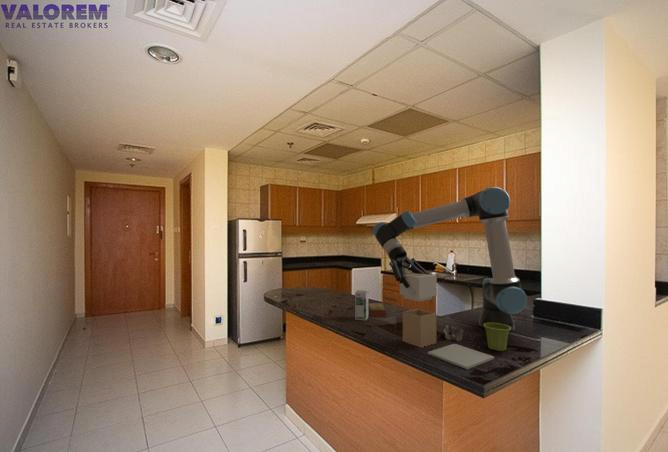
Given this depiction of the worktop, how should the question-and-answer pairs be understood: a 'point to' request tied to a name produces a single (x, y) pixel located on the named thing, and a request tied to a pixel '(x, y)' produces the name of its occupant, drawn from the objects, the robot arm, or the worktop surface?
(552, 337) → the worktop surface
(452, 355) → the board
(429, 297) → the off-white cube block
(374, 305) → the carton
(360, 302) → the syrup box
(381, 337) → the worktop surface
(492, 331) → the plant pot
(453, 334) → the egg carton
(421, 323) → the brown open box
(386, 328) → the worktop surface
